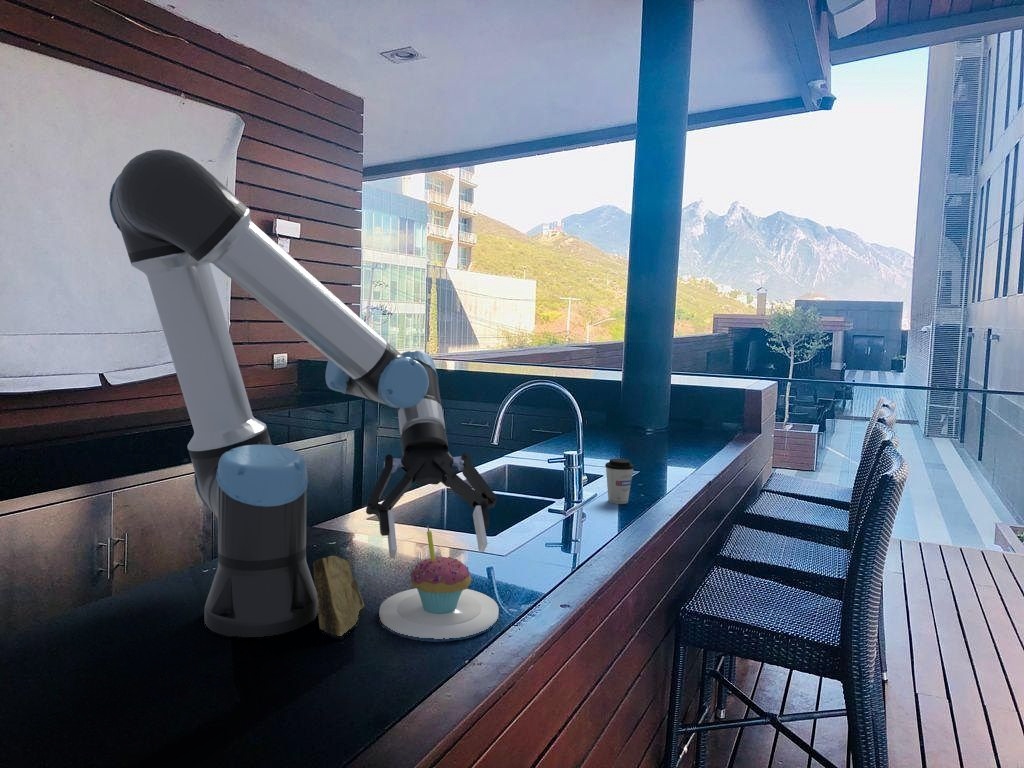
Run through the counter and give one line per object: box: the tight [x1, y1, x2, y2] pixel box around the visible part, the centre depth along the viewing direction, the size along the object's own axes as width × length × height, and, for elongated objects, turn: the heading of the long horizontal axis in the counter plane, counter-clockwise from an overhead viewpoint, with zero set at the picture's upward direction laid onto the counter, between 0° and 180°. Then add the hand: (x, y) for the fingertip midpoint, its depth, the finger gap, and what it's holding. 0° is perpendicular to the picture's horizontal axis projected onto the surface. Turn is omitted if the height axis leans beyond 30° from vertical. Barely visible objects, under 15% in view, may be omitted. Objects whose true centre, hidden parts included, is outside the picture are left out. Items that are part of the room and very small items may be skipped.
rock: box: [312, 555, 365, 636], centre depth 102 cm, size 11×9×10 cm
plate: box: [378, 588, 500, 639], centre depth 105 cm, size 17×17×1 cm
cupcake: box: [410, 525, 472, 614], centre depth 105 cm, size 9×8×12 cm
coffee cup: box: [604, 458, 635, 505], centre depth 175 cm, size 7×7×10 cm
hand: (439, 551), depth 109 cm, fingers open, 13 cm apart
